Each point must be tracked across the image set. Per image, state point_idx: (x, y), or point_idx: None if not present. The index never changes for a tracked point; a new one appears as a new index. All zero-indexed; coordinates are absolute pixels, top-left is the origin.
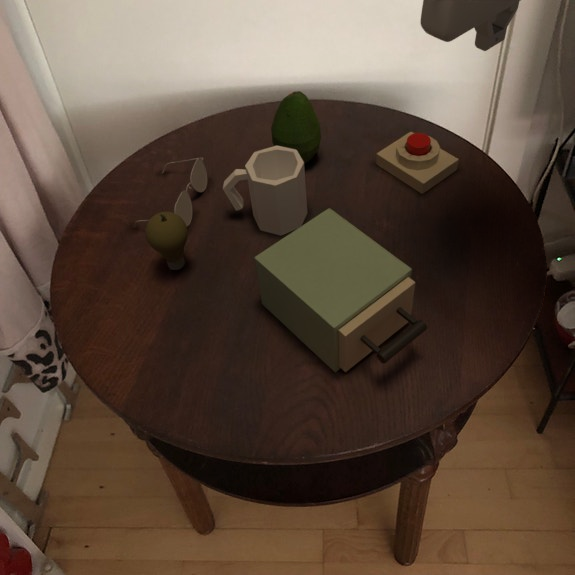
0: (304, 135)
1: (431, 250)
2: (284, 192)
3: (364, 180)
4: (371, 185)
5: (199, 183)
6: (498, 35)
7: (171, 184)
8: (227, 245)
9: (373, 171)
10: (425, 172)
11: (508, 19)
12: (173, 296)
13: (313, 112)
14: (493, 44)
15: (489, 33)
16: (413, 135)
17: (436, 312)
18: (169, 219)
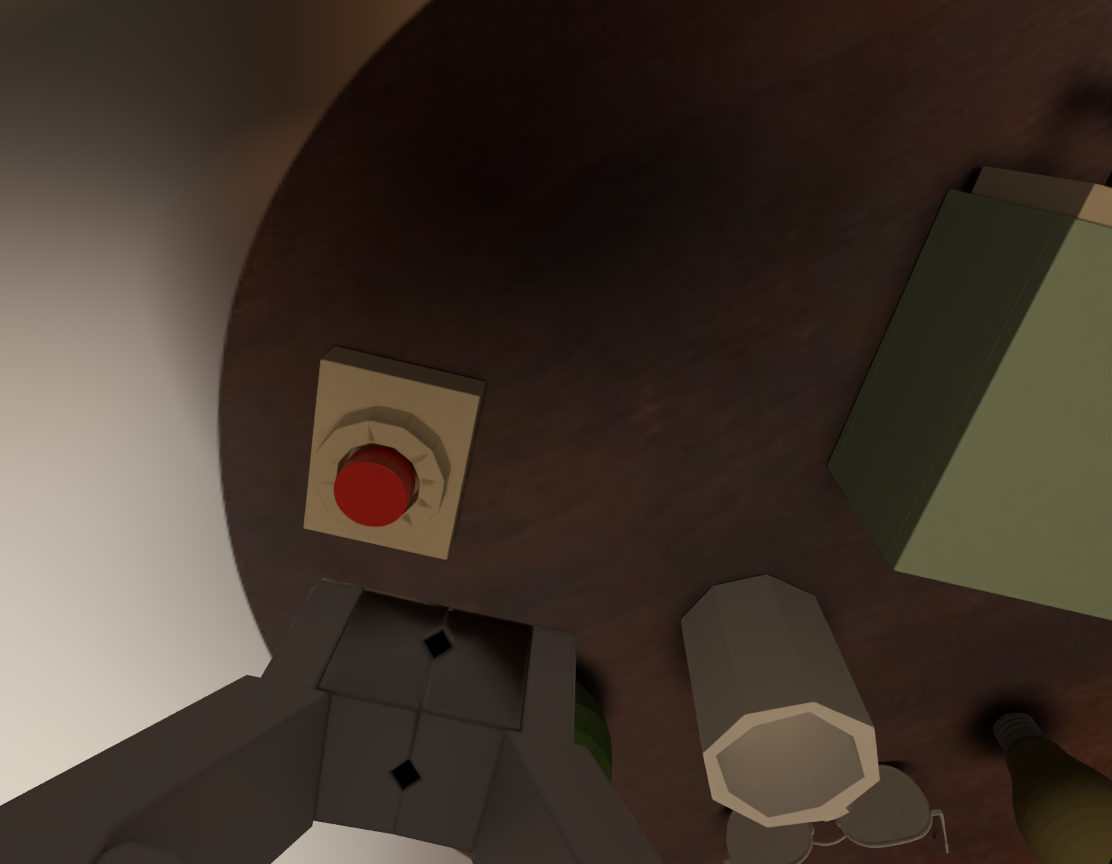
0: None
1: (675, 251)
2: (838, 688)
3: (526, 532)
4: (533, 508)
5: None
6: (416, 669)
7: None
8: (899, 672)
9: (481, 530)
10: (434, 414)
11: (235, 755)
12: (1093, 679)
13: None
14: (488, 629)
15: (607, 795)
16: (361, 517)
17: (897, 119)
18: (1104, 854)
